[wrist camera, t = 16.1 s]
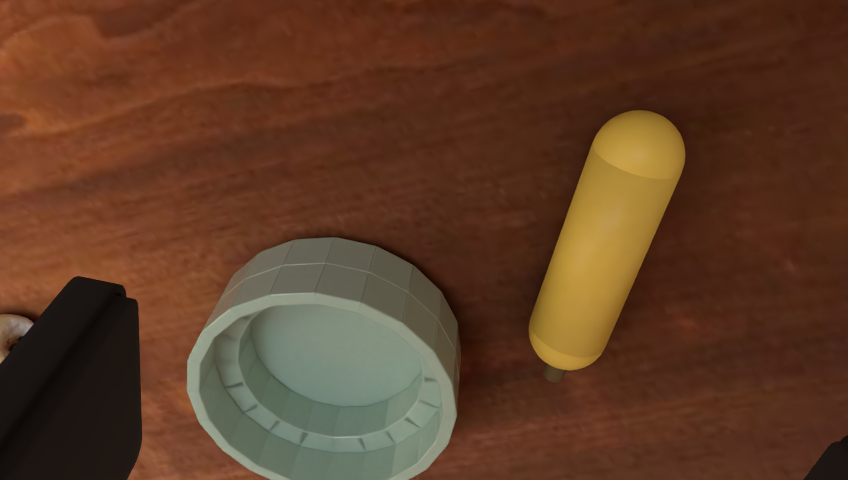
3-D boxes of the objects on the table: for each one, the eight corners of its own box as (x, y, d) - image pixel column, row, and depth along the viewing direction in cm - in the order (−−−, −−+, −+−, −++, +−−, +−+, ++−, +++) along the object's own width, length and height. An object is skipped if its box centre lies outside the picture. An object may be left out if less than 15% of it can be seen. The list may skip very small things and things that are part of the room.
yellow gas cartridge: (590, 103, 27) (676, 143, 25) (633, 89, 30) (715, 125, 28) (499, 369, 34) (561, 414, 33) (540, 339, 37) (600, 380, 35)
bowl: (229, 206, 33) (189, 266, 29) (486, 262, 34) (484, 328, 30) (217, 394, 40) (184, 466, 36) (433, 439, 40) (426, 515, 36)
